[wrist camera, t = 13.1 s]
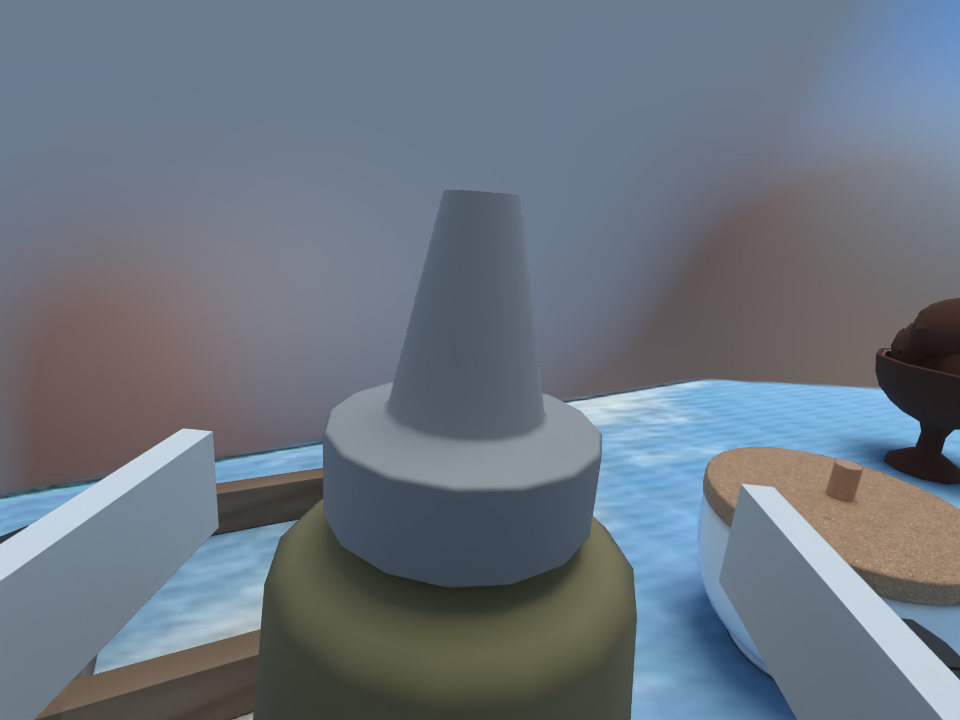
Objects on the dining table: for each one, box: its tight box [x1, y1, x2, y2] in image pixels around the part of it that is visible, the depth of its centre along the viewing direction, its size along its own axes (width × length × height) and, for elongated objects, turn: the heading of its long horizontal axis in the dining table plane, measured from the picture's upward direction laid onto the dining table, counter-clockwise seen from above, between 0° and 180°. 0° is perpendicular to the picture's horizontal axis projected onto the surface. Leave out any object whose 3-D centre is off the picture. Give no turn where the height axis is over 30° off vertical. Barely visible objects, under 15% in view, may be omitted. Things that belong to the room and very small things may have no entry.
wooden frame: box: [34, 468, 323, 720], centre depth 25 cm, size 13×13×2 cm
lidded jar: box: [697, 447, 960, 678], centre depth 23 cm, size 11×11×9 cm
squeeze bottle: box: [253, 190, 637, 720], centre depth 10 cm, size 8×8×18 cm
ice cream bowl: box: [875, 298, 960, 484], centre depth 44 cm, size 11×11×15 cm
